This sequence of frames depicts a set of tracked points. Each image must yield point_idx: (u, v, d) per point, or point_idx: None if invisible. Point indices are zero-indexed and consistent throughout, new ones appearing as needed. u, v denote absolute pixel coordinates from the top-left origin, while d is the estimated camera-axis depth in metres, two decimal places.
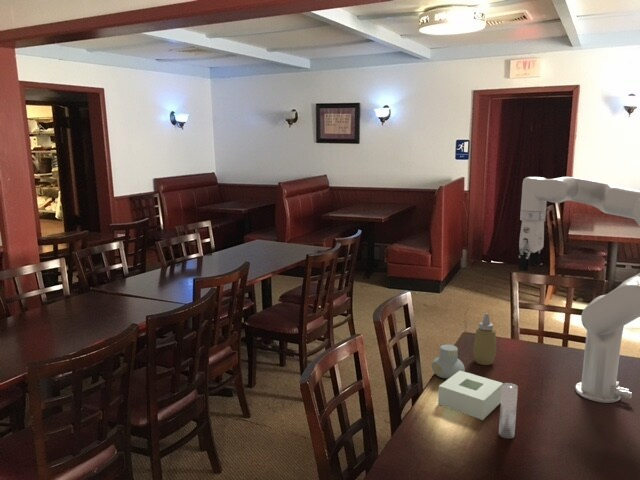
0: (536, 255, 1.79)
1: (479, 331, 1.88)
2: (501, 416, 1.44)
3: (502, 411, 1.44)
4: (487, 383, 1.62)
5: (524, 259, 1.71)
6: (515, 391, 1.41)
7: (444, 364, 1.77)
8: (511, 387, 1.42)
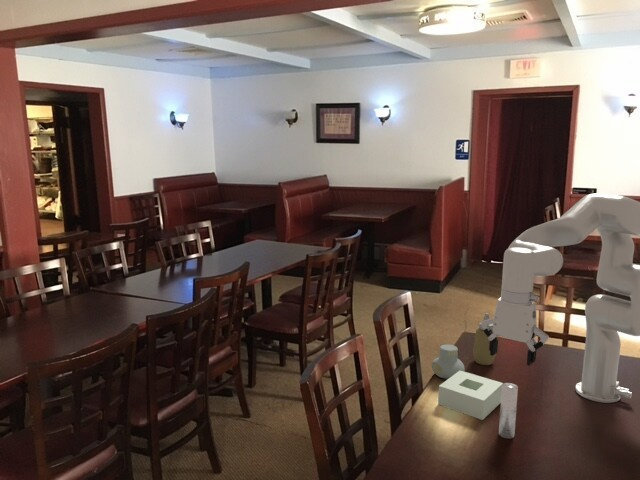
0: (496, 341, 1.44)
1: (479, 331, 1.88)
2: (501, 416, 1.44)
3: (502, 411, 1.44)
4: (487, 383, 1.62)
5: None
6: (515, 391, 1.41)
7: (444, 364, 1.77)
8: (511, 387, 1.42)
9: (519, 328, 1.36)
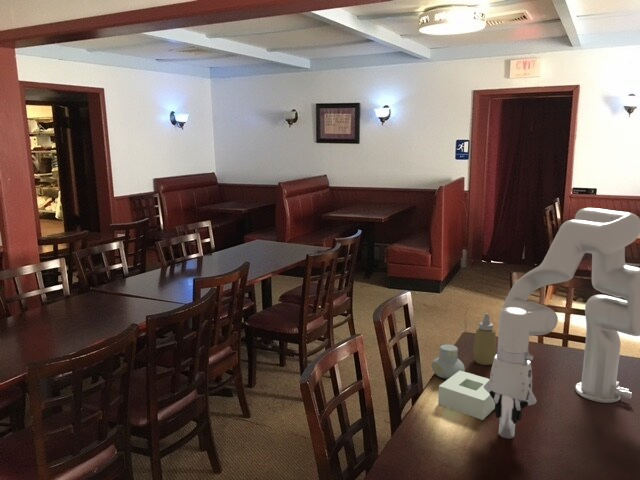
0: None
1: (479, 331, 1.88)
2: (501, 416, 1.44)
3: (502, 411, 1.44)
4: None
5: None
6: None
7: (444, 364, 1.77)
8: None
9: (515, 387, 1.40)
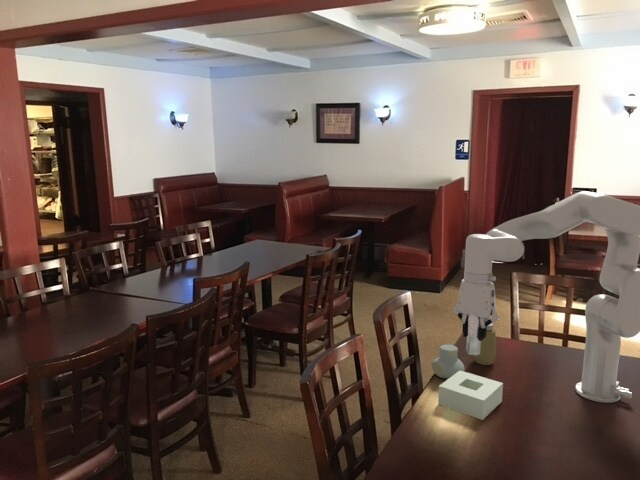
0: None
1: None
2: (468, 335, 1.58)
3: (468, 330, 1.57)
4: (487, 383, 1.62)
5: None
6: None
7: (444, 364, 1.77)
8: None
9: (479, 305, 1.53)
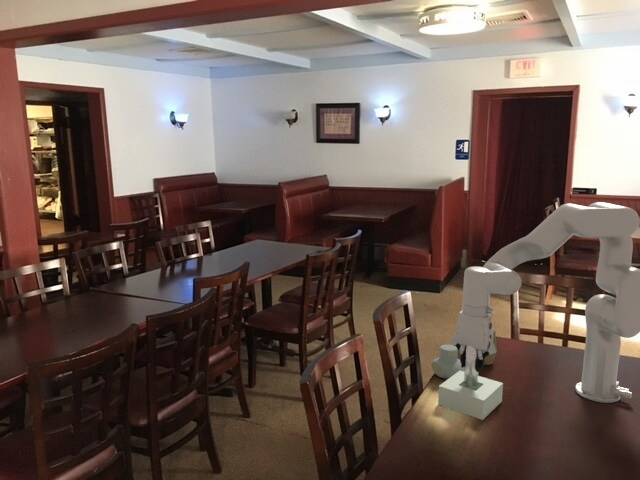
0: None
1: None
2: (465, 366, 1.60)
3: (466, 361, 1.59)
4: (487, 383, 1.62)
5: None
6: None
7: (444, 364, 1.77)
8: None
9: (477, 338, 1.55)
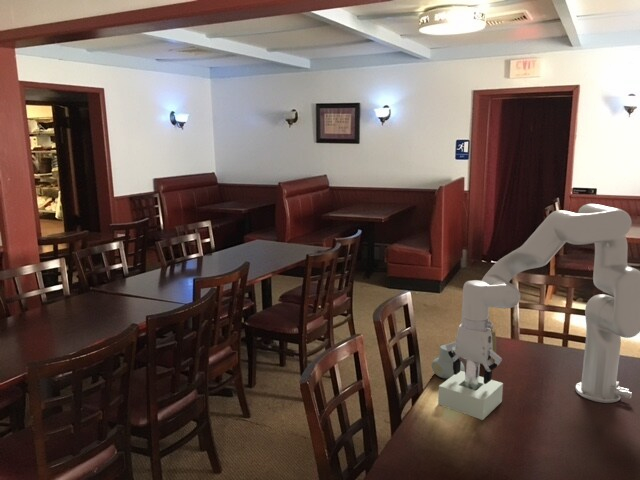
0: (459, 362, 1.64)
1: None
2: (465, 381, 1.61)
3: (466, 377, 1.60)
4: (487, 383, 1.62)
5: (491, 370, 1.57)
6: None
7: (444, 364, 1.77)
8: None
9: (477, 351, 1.56)
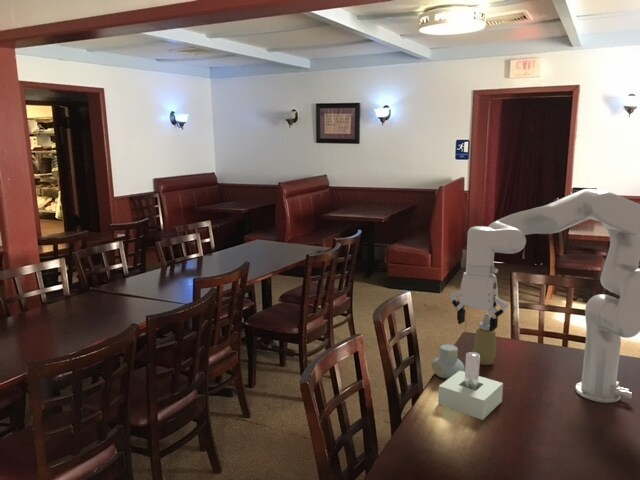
0: (463, 311, 1.61)
1: (479, 331, 1.88)
2: (465, 382, 1.61)
3: (466, 377, 1.60)
4: (487, 383, 1.62)
5: (497, 317, 1.54)
6: (477, 359, 1.58)
7: (444, 364, 1.77)
8: (474, 355, 1.59)
9: (482, 298, 1.53)
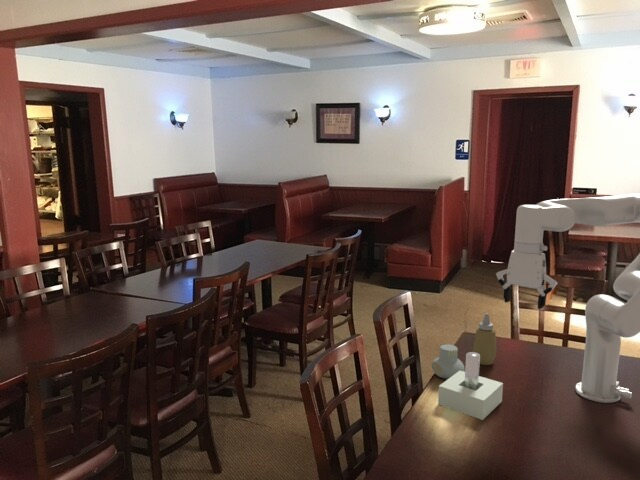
0: (510, 290, 1.62)
1: (479, 331, 1.88)
2: (465, 382, 1.61)
3: (466, 377, 1.60)
4: (487, 383, 1.62)
5: (545, 295, 1.55)
6: (477, 359, 1.58)
7: (444, 364, 1.77)
8: (474, 355, 1.59)
9: (531, 276, 1.54)
